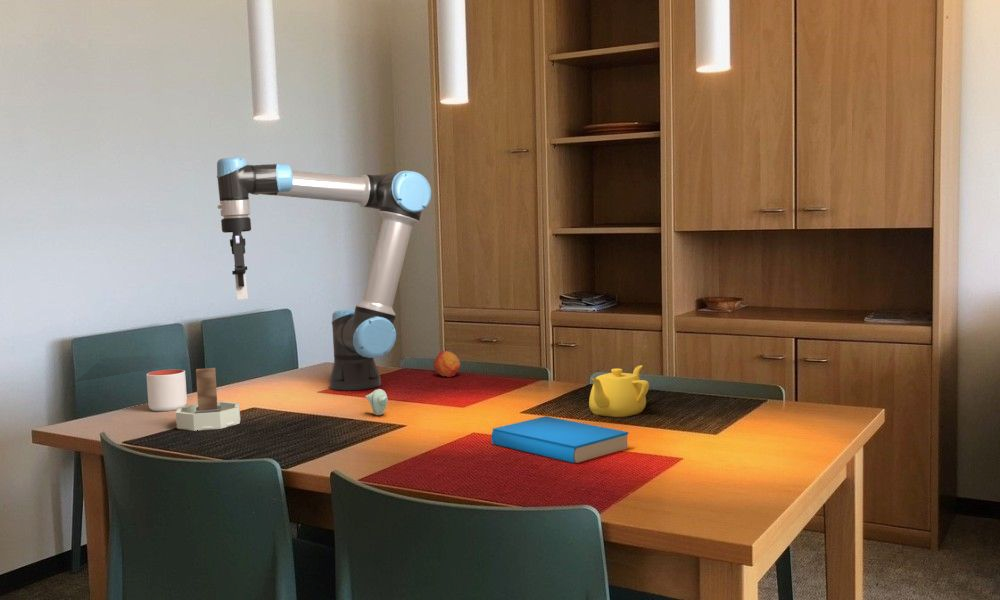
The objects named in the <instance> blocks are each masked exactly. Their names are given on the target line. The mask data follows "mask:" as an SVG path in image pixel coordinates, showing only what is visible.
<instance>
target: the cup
mask: <svg viewBox="0 0 1000 600" xmlns="http://www.w3.org/2000/svg"><path fill="white" fill-rule="evenodd" d="M186 379H187V378H186V370H183V369H178V368H177V369H160V370H154V371H150V372H148V373H146V390H147V402H148V403H147V405H148V407H149V409H150V410H151V411H153V412H172V411H177V409H178V408H179V407H183V406H187V403H188V398H187V396H188V395H187V394H188V393H187V381H186Z"/></svg>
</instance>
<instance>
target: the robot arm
mask: <svg viewBox="0 0 1000 600" xmlns="http://www.w3.org/2000/svg"><path fill="white" fill-rule="evenodd" d="M216 178H217V185H218V186H217V187H218V195H219V197H218V198H219V204H218V205H217V209H219V210H220V216H221V217H223V218H221V220H220V222H221V232H222V233H226V234H227V233H232V236H231V239H229V245H230V248H231V254H232V255H233V259H234V270H232V271H231V273H232V275H234V277H235V278H234V281H235V290H236V291H235V293H236V300H248V298H249V296H248V283H247V274H246V271H247V270H248V266H245V256H244V255H245V254H246V238H244V237H243V235H242V233H245V232H251V231H252V223H251V218H250V217H249V216H250V214H251V207H250V200H249V199H250V198H249V197H250V196H249V195H256V196H257V195H263V196H264V195H265V196H276V197H277V196H280V197H287V198H300V199H312V200H321V201H331V202H341V203H342V202H345V203H353V204H355V203H356V204H358V205H359V206H360V207H361V208H369V209H375V210H379V215H380V216H381V218H382V222H381V228H380V230H379V234H378V238H377V242H376V247H375V250H374V255H373V259H372V261H371V262H372V263H371V266H370V270H369V271H370V272H369V275H368V279H367V282H366V285H365V286H366V287H365V289H364V290H365V291H364V294H363V297H362V301H361V302H358V303H356V304H355V308H352V309H349V308H348V309H344V310H343V309H342V310H336V311H333V313H332V315H331V316H332V319H331V326H332V342H333V357H334V358H333V361H334V362H333V366H332V368H331V369H332V370H331V373H330V377H329V382H328V383H329V389H332V390H334V391H335V390H336V391H361V390H367V389H369V390H370V389H373V388H378V387H380V386H381V385H382V381H381V380H382V379H381V374H380V373H379V370H378V367H377V363H376V362H375V358H380V357H384V356H386V354H387V355H388V353H389V352H390V351H391V350H392V349H393V348H394V345H395V343H396V340H397V331H396V328H395V326H394V324H395V319H396V313H395V311H394V309H393V305H394V302H395V298H396V294H397V289H398V285H399V281H400V278H401V274H402V270H403V266H404V261H405V257H406V254H407V249H408V246H409V242H410V237H411V234H412V229H413V227H414V226H416V225H417V224H419V223H420V220H421V215H422V212H423V211H424V210H425V209H426V208H427V207H428V206H429V205H430V203H431V199H432V187H431V185H430V183H429V180H428V179H427V178H426V177H425V176H424V175H423V174H421V173H419V172H417V171H412V170H411V171H410V170H402V171H397V172H389V173H384V174H383V173H381V174H362V175H361V176H350V175H339V174H329V173H321V172H312V171H311V172H310V171H299V170H292V167H291V166H290V165H289V164H287V163H281V164H280V163H273V164H252V165H250V164H247V161H246V159H245V158H244V157H224V158H220V159H218V160H217V162H216Z"/></svg>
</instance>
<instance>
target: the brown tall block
mask: <svg viewBox="0 0 1000 600" xmlns="http://www.w3.org/2000/svg"><path fill="white" fill-rule="evenodd" d="M216 375H217V373H216V367H209V368H208V367H207V368H196V370H195V376H196V377H195V378H196V379H195V380H196V394H197V403H198V411H199V410H212V409H218V406H217V402H218V395H217V394H218V393H217V377H216Z"/></svg>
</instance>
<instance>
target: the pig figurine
mask: <svg viewBox="0 0 1000 600" xmlns="http://www.w3.org/2000/svg"><path fill="white" fill-rule="evenodd" d="M365 398H366V399H367V400H368V402H369V404H370V408H371V410H372V412H373V413H374V414H375V415H376V416H381V415H383V413H384V412H385V410H386V408H387V405H388V402H389V400H388V395H387V393H386V391H385V390H384V389H381V388H378V389H375V390H373V391H372V392H371V393H369V394H367V395H365Z"/></svg>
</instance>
